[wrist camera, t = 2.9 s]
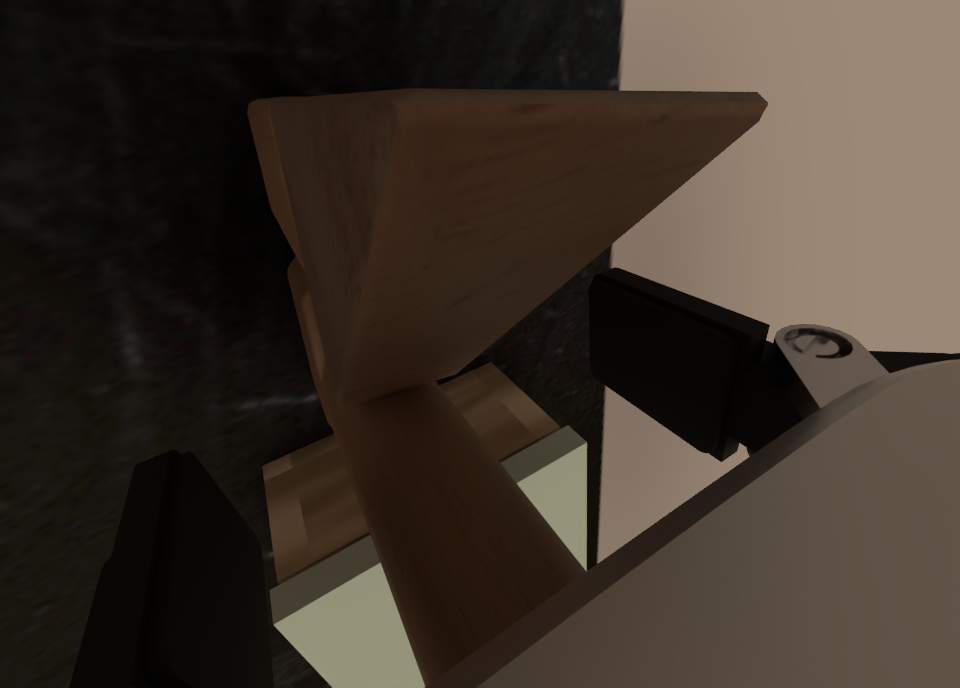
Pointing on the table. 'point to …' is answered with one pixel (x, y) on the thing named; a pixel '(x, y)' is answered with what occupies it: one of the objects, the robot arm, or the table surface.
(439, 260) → the wooden pieces
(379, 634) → the lid
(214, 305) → the table surface
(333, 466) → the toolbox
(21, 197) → the table surface
